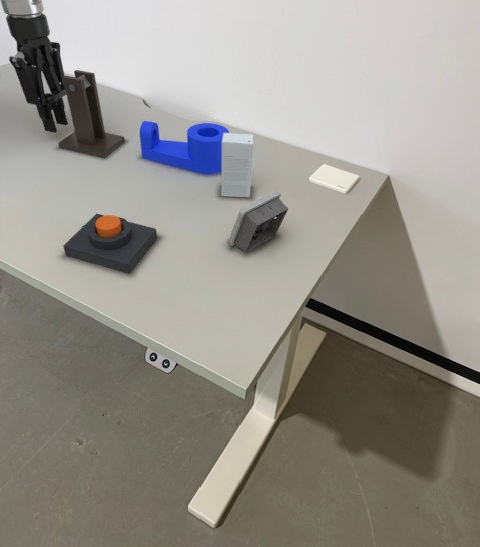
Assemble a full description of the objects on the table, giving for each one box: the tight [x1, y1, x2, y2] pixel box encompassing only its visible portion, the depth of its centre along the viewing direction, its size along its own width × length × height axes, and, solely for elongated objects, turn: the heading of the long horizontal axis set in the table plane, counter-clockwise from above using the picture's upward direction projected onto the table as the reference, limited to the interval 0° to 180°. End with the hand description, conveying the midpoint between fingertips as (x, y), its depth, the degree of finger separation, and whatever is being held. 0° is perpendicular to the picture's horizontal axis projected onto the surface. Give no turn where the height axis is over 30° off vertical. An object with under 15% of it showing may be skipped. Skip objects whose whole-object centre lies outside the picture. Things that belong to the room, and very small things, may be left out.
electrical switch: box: [228, 190, 289, 254], centre depth 73 cm, size 9×5×9 cm, turn 133°
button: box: [96, 214, 122, 237], centre depth 70 cm, size 4×4×2 cm
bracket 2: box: [139, 120, 230, 175], centre depth 94 cm, size 20×9×8 cm, turn 76°
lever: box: [44, 75, 90, 111], centre depth 93 cm, size 14×4×4 cm, turn 72°
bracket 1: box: [57, 69, 126, 159], centre depth 94 cm, size 12×9×16 cm
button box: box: [62, 213, 158, 274], centre depth 72 cm, size 12×10×4 cm
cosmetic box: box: [220, 132, 254, 199], centre depth 84 cm, size 6×4×12 cm
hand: (56, 127), depth 100 cm, fingers closed on lever, 4 cm apart
